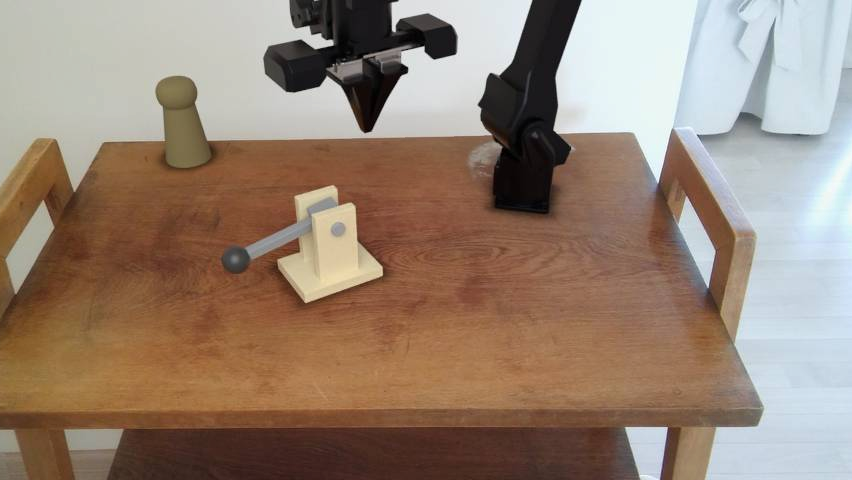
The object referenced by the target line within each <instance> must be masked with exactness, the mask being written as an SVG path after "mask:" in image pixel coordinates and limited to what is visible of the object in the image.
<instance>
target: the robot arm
mask: <svg viewBox="0 0 852 480" xmlns="http://www.w3.org/2000/svg"><path fill="white" fill-rule="evenodd" d="M288 1H289V3H288V5H289V15H290V20H291V24H292V26H293V28H294V29H302V28H306V27H309V31H310V35H311V36H315V35H319V34H320V37H321V38H322V39H324V40H325V41H332V45H328V46H322V47H319V48H314V46H312V45H310V44H309V43H307V42H306V41H305V40H303V39H302V38H301V39H296V40H290V41H286V42H280V43H277V44H272V45H268V46H267V49H266V51H265V52H264V55H263V57H262V61H263V68H264V69H263V70H264V74H265V75H266V77H268V78H269V79H270V80H271V81H273V82H274V83H275V84H276V85H277V86H278V87H280V89H282V90H283V91H284V92H285V93H290V94H291V93H292V94H296V93H300V92H304V91H309V90H313V89H317V88H321V86H322V84H323V83H324V82H325V80H326V79H327V78H329V79H330V80H331V81H333V82H334V83H336V84H337V85H338V86H340V88H341V89H342V92H343V93H344V95H345V97H346V99H347V101H348V104H349V106H350V109H351V111H352V114H353V115H354V118H355V120H356V122H357V123H356V124H357V125H358V128H359V130H360V131H361V132H362V133H363V134H368V133H371V132H373V130H374V128H375V126H376V124H377V121H378V119H379V117H380V116H381V114H382V111H383V109H384V107H385V105H386V103H387V101H388V100H389V97H390V96H391V94H392V92H393V91H394V89H395V87H396V85H397V84H398V82H399V80H400V79H401V77H402V76H405V75H407V74H409V70H410V69H409V66H408V65H405V64H404V63H402V52H406V51H410V50H411V51H412V50H414V49H419V48H423V50H424V51H423V52H424V53H425V54H426V55H427V56H428V57H430V59H432V60H433V61H436V60H440V59H444V58H448V57H452V56H453V57H454V56H456V55H457V54H458V47H459V46H458V43H459V36H458V33H457V30H456V29H455V27H454V26H453V25H452V24H451V23H448V22H447V21H445V20H442V19H440V18H439V17H437V16H435V15H433V14H431V13H429V12H426V13H422V14H417V15H412V16H407V17H402V18H399V19H398V21H397V22H396V23H395V31H394V30H393V3H398V2H399V1H400V0H288ZM582 2H583V0H531V3H530V6H529V9H528V12H527V15H526V18H525V22H524V25H523V28H522V32H521V34H520V37H519V41H518V43H517V47H516V50H515V53H514V55H513V59H512V60H511V63H510V64H509V65H508V66H507V67H506V68H505V69H504V70H503V71H502V72H501V73H500V74H497V73H494V72H489V73H488V74H487V77H486V79H485V86H484V91H483V94H482V97H481V98H480V100H479V101H478V103H477V107H478V108H480V114H479V119H480V122H481V123H482V126H483V127H484V129H485V130H486V131H487V132H488V133H490V135H491V137H492V140H493V142H495V143H496V144H498V145H499V146H501V150H500V154H499V155H498V156H496V158H495V162H494V165H493V175H492V177H493V178H492V189H491V191H492V192H491V194H492V196H493V197H494V201H493V207H494V208H495V209H501V210H509V211H518V212H519V211H520V212H528V213H535V214H544V215H545V214H546V215H547V214H549V213H550V210H551V203H552V196H553V191H554V184H553V180H554V172H555V168H556V167H558V166H563V165H565V164H566V162H567V161H568V158H569V155H570V153H571V152H572V146H571V145H570V144H569V143H568V142H567V141H566V140H565V139H564V138H563V137H561V135H559V134H558V132H556V131H555V125H556V120H557V115H558V110H559V99H558V98H559V97H558V88H557V87H558V86H557V74H558V70H559V67H560V65H561V61H562V59H563V56H564V53H565V50H566V48H567V44H568V42H569V39H570V36H571V33H572V30H573V29H574V28H573V27H574V24H575V22H576V19H577V16H578V14H579V10H580V8H581V5H582Z"/></svg>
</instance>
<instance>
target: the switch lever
mask: <svg viewBox="0 0 852 480" xmlns="http://www.w3.org/2000/svg"><path fill="white" fill-rule="evenodd" d="M337 206H340V204H339V203H338V204H337V203H336V202H335V201H334V200H333V199H332V198H331V197H329V198H327V199H325V200H323V201H321V202H318V203H316V204H314V205H312V206H310V207H308V208H307V212H308V215H309V217H308V218H306V219H304V220H302V221H300V222H297V221H296V222H295V223H294V224H291V225H288V226H287V227H285V228H283V229H281V230H279V231H277V232H275V233H273V234H270V235H269V236H266V237H265V238H264V237H263V238H262V239H260V240H258V241H256V242H254V243H252V244H250V245H248V246H245V247H243V246H242V245H231V246H229V247H227V248H226V249H225V250H224V251H223V252H222V255H221V265H222V267H223V269H224V270H225V271H226V272H228V273H229V274H232V275H240V274H243V273H245V272H246V271H247V270H248V269H249V267H250V265H251V262H252V261H254V260H255V259H257V258H260V257H261V256H264V255H265V254H267V253H269V252H272V251H274V250H275V249H279V248H280V247H282V246H284V245H286V244H288V243H290V242H292V241H294V240H296V239H299V237H300V236H303V235H305V234H307V233H309V232H311V231H313V228H312V217H311V214H314V213H317V212H321V211H324V210H327V209H330V208H334V207H337Z"/></svg>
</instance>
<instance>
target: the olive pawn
mask: <svg viewBox="0 0 852 480" xmlns="http://www.w3.org/2000/svg"><path fill="white" fill-rule="evenodd" d="M198 93H199V92H198V88H197V86H196V83H195V82H194V80H193V79H192V78H190V77H188V76H185V75H172V76H167V77H165V78H162V79H161V80H160V81H158V82H157V84H156V86H155V93H154V94H155V97H156V100H157V102H158V104H159V105H160V106H161V107H162V117H163V118H162V119H163V133H164V134H163V135H164V146H165V147H164V150H165V161H166V163H167V165H169V166H171V167H174V168H177V169H178V168H179V169H188V168H195V167H198V166H201V165H204V164H205V163H207V162H208V161H209V160H210V159H212V152H211V148H210V145H209V141H208V139H207V135H206V133H205V129H204V126H203V123H202V121H201V117H200V114H199V111H198V107H197V104H196V102H197V100H198Z"/></svg>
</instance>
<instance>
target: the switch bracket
mask: <svg viewBox="0 0 852 480" xmlns="http://www.w3.org/2000/svg"><path fill="white" fill-rule="evenodd" d="M329 197H331V198H332V199H333V200H334V201H335V202H336V203H337V204H338V205H339V206H337V207H334V208H330V209H327V210H324V211H321V212H317V213H314V214H311V217H312V228H313V231H311V232H309V233H307V234H305V235H303V236H300V237H298V244H299V252H297V253H296V252H295V253H293V254H289V255H287V256H284V257H281V258H278V259H276V260H277V261H276V262H277V268H278V270H279V271H280V273H281V274H282V275H283V276H284V278H285V279H286V280H287V281H288V283H289V284H290V285H291V287H292V288H293V289H294V291H295V292H296V293H297V295H298V296H299V297H300V298H301V300H302V301H303V302H304V303H305V304H307V303H311V302H313V301H316V300H319V299H322V298H324V297H327V296H330V295H333V294H335V293H340V292H341V291H344V290H347V289H350V288H352V287H355V286H358V285H361V284H364V283H367V282H369V281H373V280H376V279H378V278H381V277H383V276H384V267H383V266H382V265H381V264H380V262H379V261H377V259H375V257H374V256H373V255H372V254H371V253H370V252H369V251H368V250H367V249H366V248H365V247H364V246H363V245H362V244H361V243H360V242H359V241H358V229H357V227H358V226H357V207H356V205H355V204H354V203H352V202H347V203H344V204H339V192H338V188H337V187H336V186H335V185H334V184H332V185H328V186H325V187H321V188H317V189H314V190H312V191H308V192H303V193H300V194H297V195H294V205H295V215H296V223H297V222H300V221H302V220H304V219H306V218H308V217H309V215H308V212H307V208H308V207H310V206H312V205H314V204H316V203H318V202H321V201H323V200H325V199H327V198H329Z"/></svg>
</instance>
